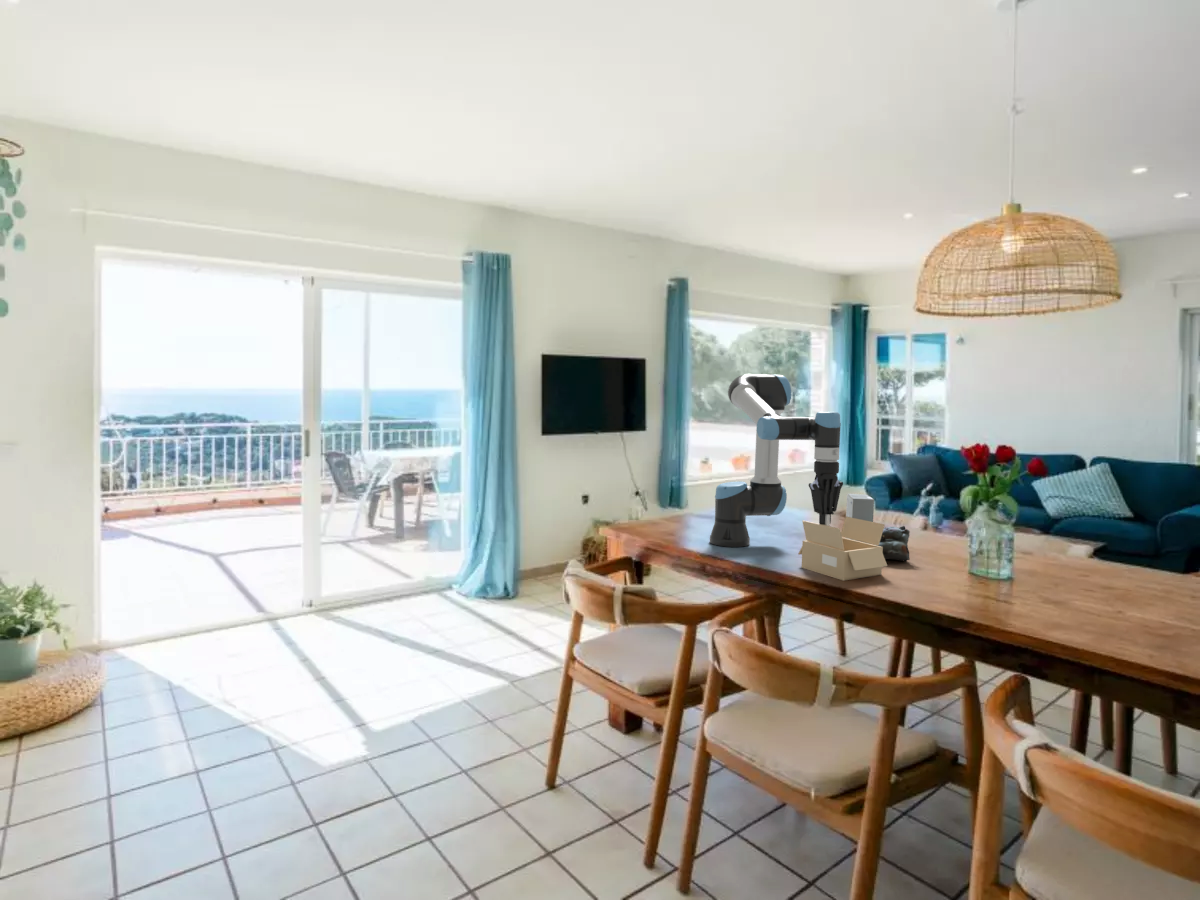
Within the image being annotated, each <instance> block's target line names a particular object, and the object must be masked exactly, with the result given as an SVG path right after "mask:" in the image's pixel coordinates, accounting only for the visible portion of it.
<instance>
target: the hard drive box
mask: <svg viewBox="0 0 1200 900" xmlns="http://www.w3.org/2000/svg"><path fill="white" fill-rule="evenodd" d="M874 509H875V499H874V498H872V497H871V496H870V495H869V494H863V493H862V494H861V493H847V494H846V509H845V510H846V511H845V512H846V513H845V518H846V517H851V518H856V519H861V520H865V521H870V522H874V512H875V510H874ZM847 539H849V538H847ZM851 540H853V539H851ZM855 541H858V540H855ZM860 542H862V541H860ZM864 543H866V542H864ZM868 544H870V543H868Z"/></svg>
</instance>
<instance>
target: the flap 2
mask: <svg viewBox="0 0 1200 900" xmlns="http://www.w3.org/2000/svg"><path fill="white" fill-rule="evenodd" d="M885 526H886V524H885V523H880V522H875V521H873V522H870V521H865V520H861V519H856V518H851V517H846V516H845V517H844V522H843V526H842V527H841V528H842V529H841V535H842V537H843V538H849V539H853V540H858V541H862V542H866V543H870V544H874V545H879V543H880V539H881V536H882V533H883V529H885Z"/></svg>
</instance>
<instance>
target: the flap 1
mask: <svg viewBox="0 0 1200 900" xmlns="http://www.w3.org/2000/svg"><path fill="white" fill-rule="evenodd" d="M801 521H802V526H803V531H804V536H805V540H807V541H811V542H815V543H819V544H823V545H827V546H830V547H834V548H838V549H842V550H844V545H843V540H842V535H841V531H842V529H841V528H839V527H834V526H826V525H822V524H819V523H818V522H817V523H816V522H812V521H808V520H801Z"/></svg>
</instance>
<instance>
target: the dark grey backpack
mask: <svg viewBox="0 0 1200 900" xmlns="http://www.w3.org/2000/svg"><path fill="white" fill-rule="evenodd" d="M910 533H911V531H910V529H907V528H906V526H904V525H903V526H900V527H897V526H896V527H895V526H887V527H884V529H883V533H882V536H881V539H880V543H879V545H876V546H880V547H883V556H884V558H885V560H890V561H891V560H893V561H895V560H896V561H902V562H905V563H907V562H908V561H910V550H909V546H908V542H909V538H910ZM872 545H874V544H872Z"/></svg>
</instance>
